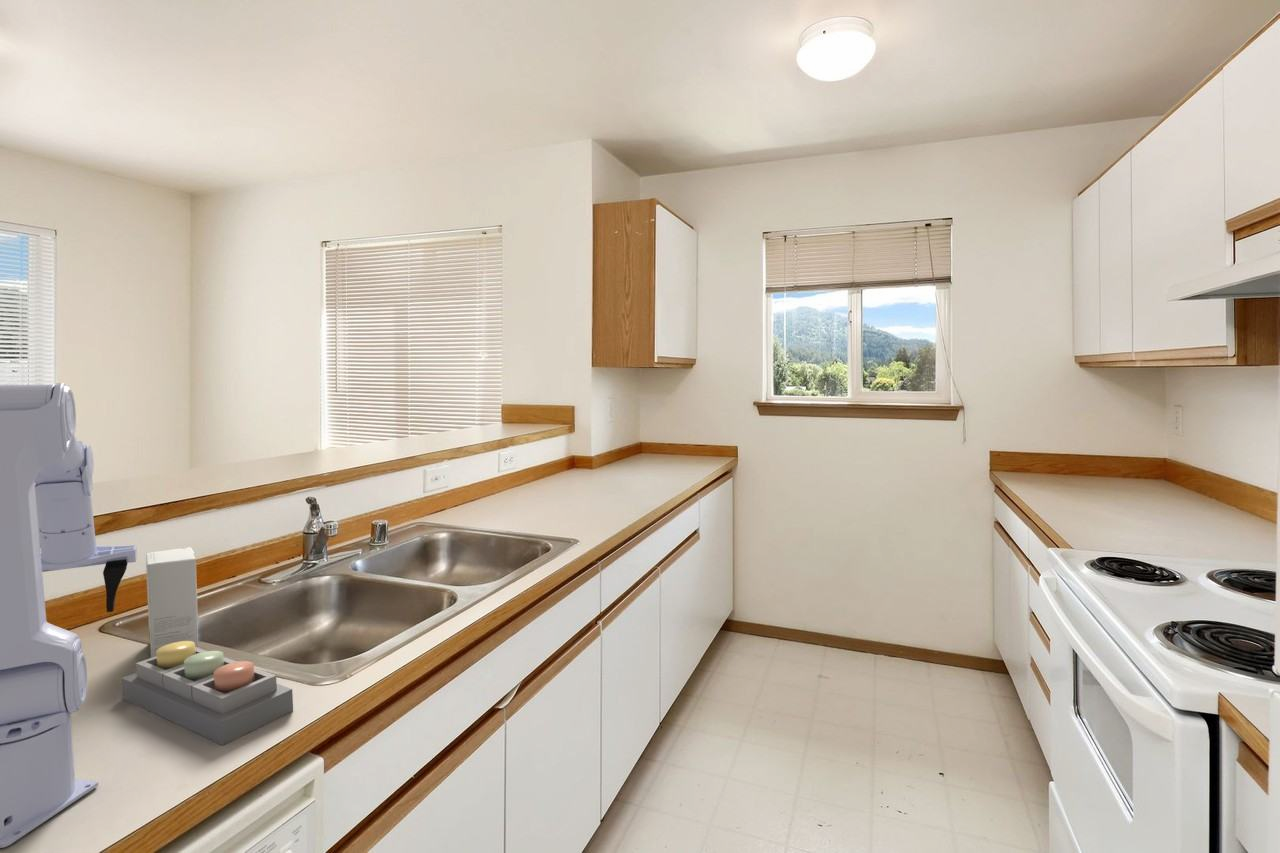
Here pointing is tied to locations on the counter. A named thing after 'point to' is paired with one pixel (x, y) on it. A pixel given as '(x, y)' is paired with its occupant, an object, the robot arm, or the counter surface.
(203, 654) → the sage button
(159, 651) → the yellow rounded piece
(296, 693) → the counter surface
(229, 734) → the button panel
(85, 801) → the counter surface
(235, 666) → the salmon pink button
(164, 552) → the skincare box
